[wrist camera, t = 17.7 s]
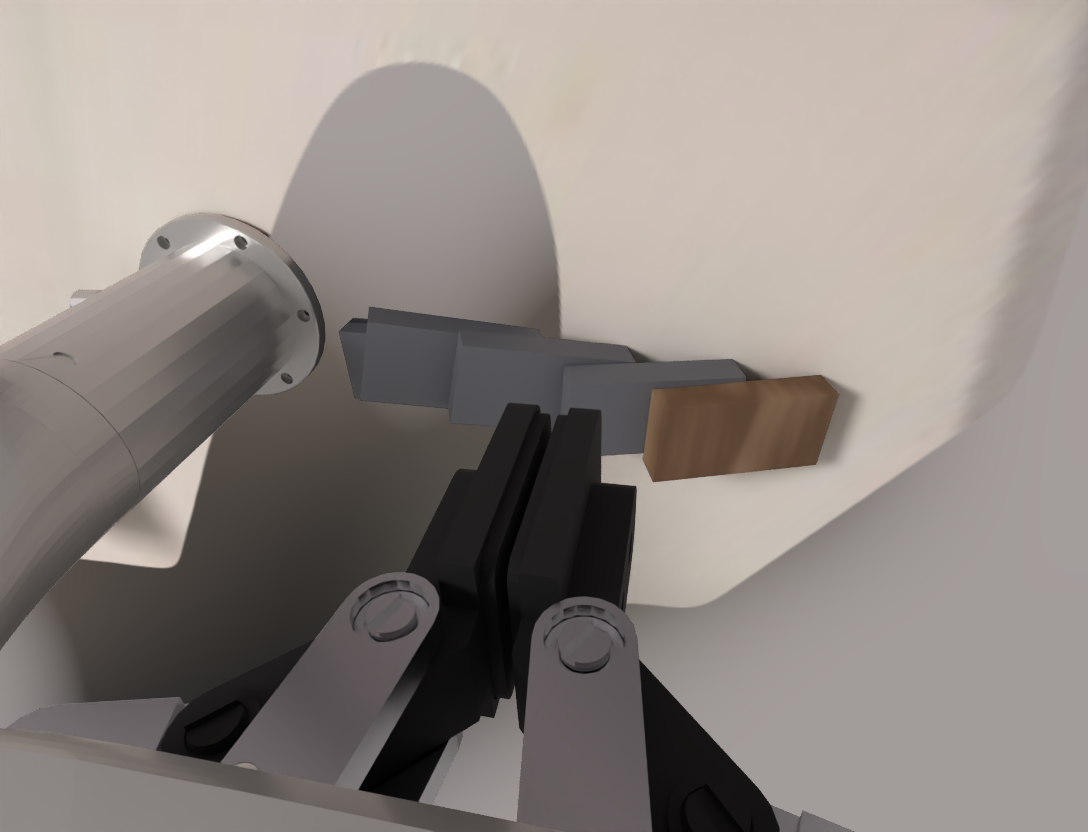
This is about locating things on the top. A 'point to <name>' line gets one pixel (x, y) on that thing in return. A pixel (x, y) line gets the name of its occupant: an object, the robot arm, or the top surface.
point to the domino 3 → (517, 373)
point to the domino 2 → (416, 355)
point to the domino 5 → (737, 427)
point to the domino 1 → (354, 350)
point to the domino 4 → (634, 394)
